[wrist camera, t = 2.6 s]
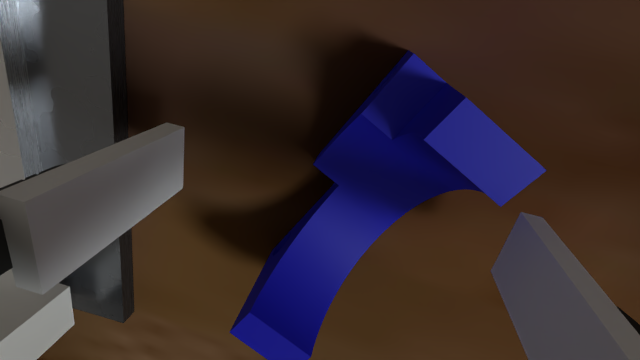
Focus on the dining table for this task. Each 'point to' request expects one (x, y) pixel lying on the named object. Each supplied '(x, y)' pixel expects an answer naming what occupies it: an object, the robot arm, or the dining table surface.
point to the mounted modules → (31, 319)
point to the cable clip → (376, 197)
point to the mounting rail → (67, 116)
